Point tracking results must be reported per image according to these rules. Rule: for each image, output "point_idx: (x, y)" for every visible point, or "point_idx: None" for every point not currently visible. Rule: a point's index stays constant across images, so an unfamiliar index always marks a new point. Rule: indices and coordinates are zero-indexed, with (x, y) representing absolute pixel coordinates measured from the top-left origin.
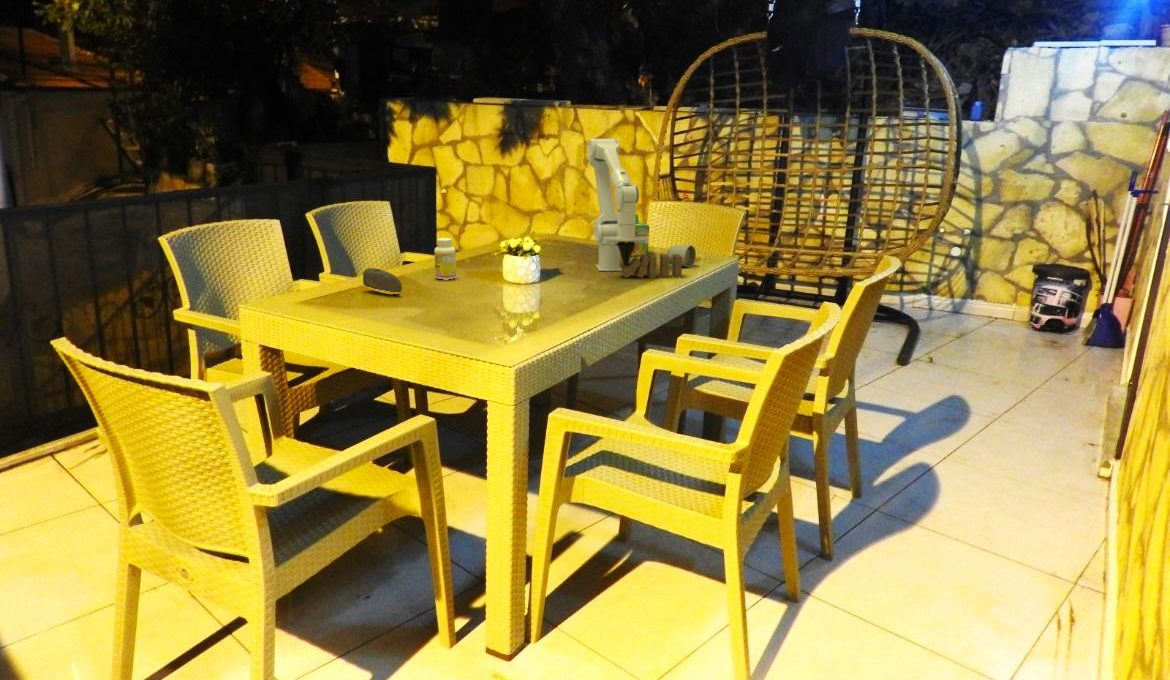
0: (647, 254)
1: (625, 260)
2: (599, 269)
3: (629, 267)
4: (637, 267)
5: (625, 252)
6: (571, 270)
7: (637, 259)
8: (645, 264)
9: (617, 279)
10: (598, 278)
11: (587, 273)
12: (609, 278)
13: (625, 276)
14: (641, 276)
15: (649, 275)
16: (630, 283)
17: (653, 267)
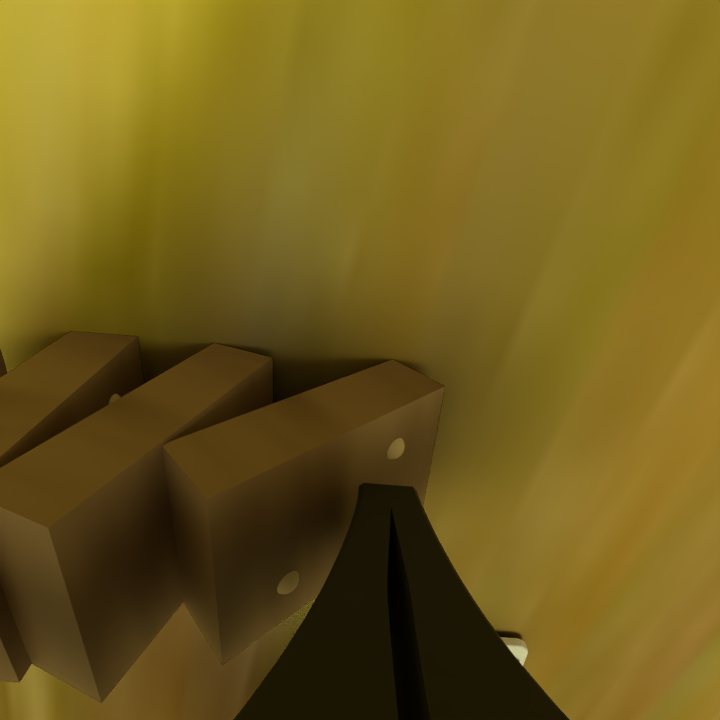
0: (16, 677)
1: (406, 532)
2: (524, 654)
3: (354, 427)
4: (242, 417)
5: (433, 655)
6: (709, 685)
7: (209, 498)
8: (108, 430)
9: (496, 338)
10: (666, 413)
11: (649, 596)
12: (558, 396)
13: (401, 370)
14: (219, 353)
15: (123, 355)
16: (421, 71)
17: (14, 393)
